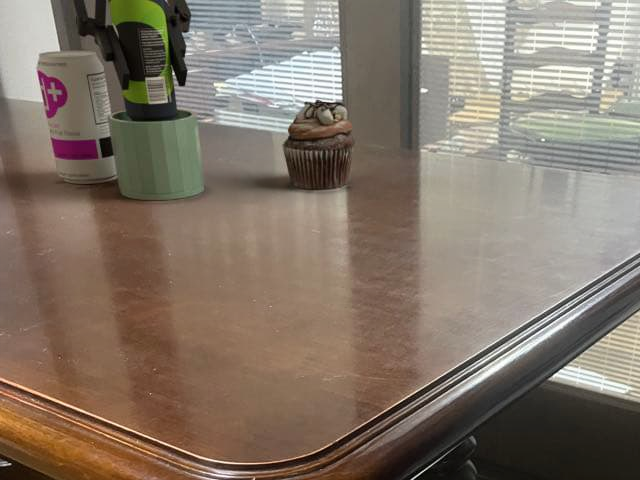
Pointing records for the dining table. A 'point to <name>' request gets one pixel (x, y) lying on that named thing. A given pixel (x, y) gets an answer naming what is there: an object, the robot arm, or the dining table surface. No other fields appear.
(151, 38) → the beverage can
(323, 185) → the cupcake
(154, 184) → the green faceted cup
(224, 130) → the dining table surface
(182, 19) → the robot arm
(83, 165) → the supplement can
